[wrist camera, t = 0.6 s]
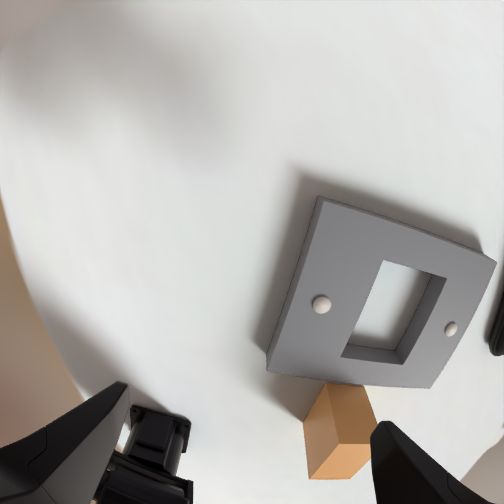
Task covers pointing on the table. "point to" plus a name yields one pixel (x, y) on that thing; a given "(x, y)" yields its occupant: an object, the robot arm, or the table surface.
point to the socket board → (357, 291)
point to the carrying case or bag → (498, 333)
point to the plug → (338, 432)
